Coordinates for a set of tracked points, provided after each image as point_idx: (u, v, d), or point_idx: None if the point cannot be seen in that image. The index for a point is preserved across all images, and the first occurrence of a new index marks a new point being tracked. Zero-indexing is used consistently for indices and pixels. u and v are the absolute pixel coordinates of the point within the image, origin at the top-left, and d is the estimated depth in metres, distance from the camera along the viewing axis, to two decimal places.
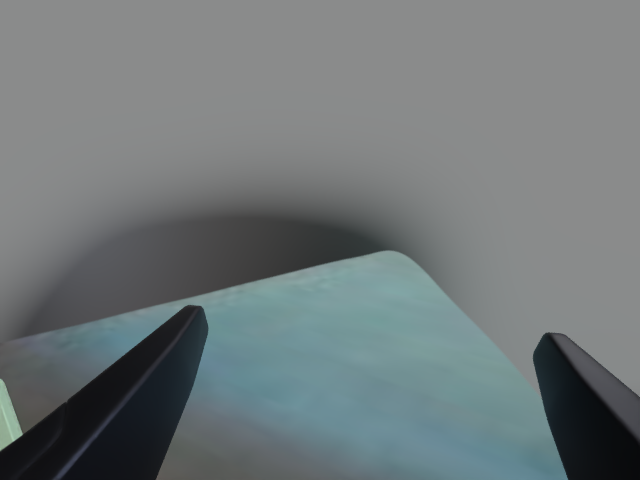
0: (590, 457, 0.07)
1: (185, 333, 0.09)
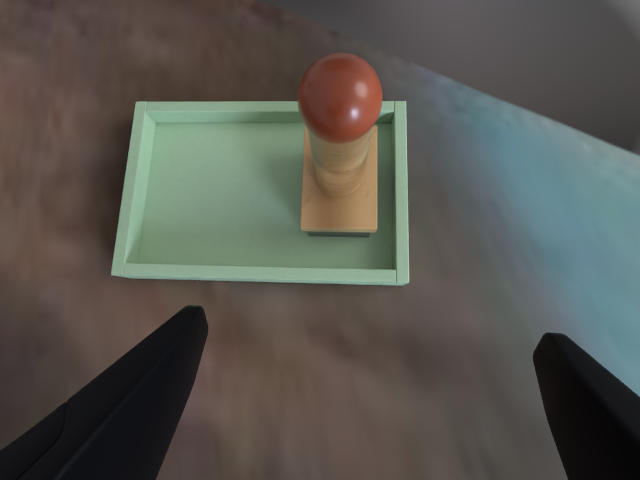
0: (590, 457, 0.07)
1: (185, 333, 0.09)
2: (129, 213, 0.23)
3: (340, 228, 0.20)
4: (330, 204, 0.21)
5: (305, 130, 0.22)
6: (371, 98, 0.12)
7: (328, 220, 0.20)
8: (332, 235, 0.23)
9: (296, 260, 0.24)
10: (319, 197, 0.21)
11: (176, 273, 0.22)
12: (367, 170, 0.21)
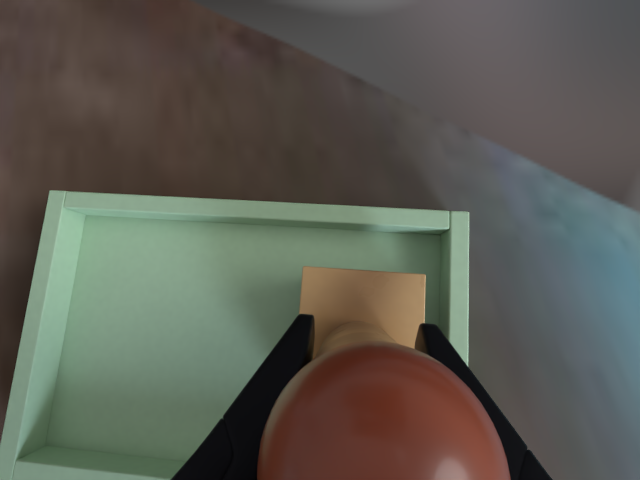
0: None
1: (309, 344, 0.08)
2: (28, 377, 0.15)
3: None
4: None
5: (303, 275, 0.13)
6: None
7: None
8: None
9: None
10: None
11: None
12: None
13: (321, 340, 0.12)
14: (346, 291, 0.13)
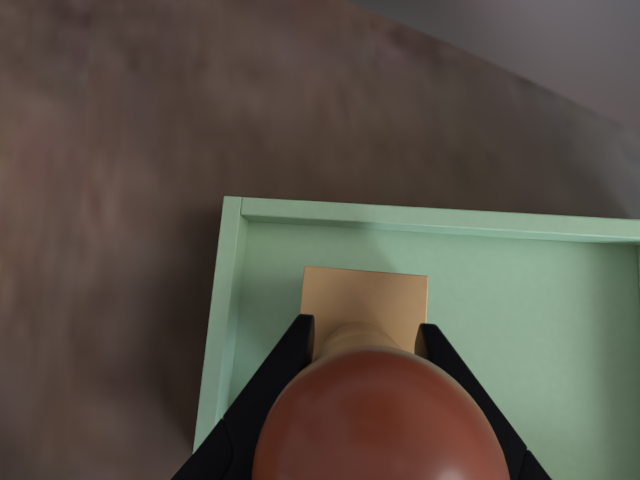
0: None
1: (309, 343, 0.08)
2: (216, 393, 0.14)
3: None
4: None
5: (305, 275, 0.13)
6: None
7: None
8: None
9: None
10: None
11: None
12: None
13: (321, 341, 0.12)
14: (347, 292, 0.13)
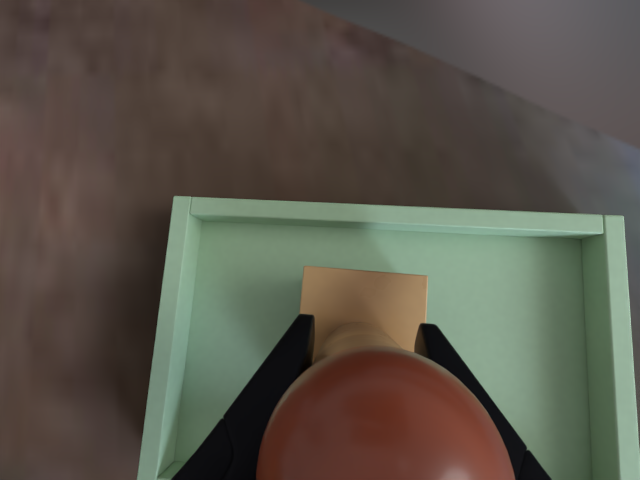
0: None
1: (309, 344, 0.08)
2: (164, 390, 0.14)
3: None
4: None
5: (304, 275, 0.13)
6: None
7: None
8: None
9: None
10: None
11: None
12: None
13: (321, 340, 0.12)
14: (347, 291, 0.13)
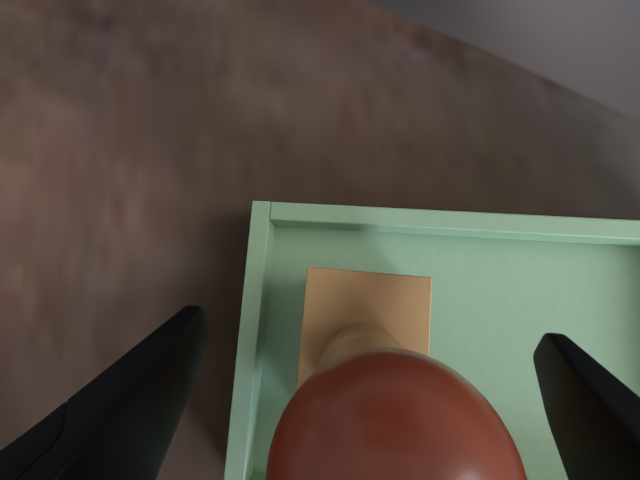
0: (590, 457, 0.07)
1: (185, 333, 0.09)
2: (248, 401, 0.14)
3: None
4: None
5: (308, 276, 0.13)
6: None
7: None
8: None
9: None
10: None
11: None
12: None
13: (325, 342, 0.12)
14: (351, 293, 0.13)
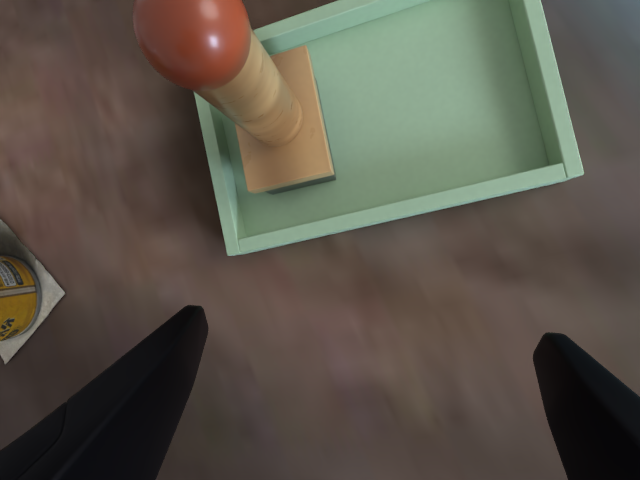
0: (590, 457, 0.07)
1: (185, 333, 0.09)
2: (224, 184, 0.20)
3: (291, 181, 0.18)
4: (273, 156, 0.18)
5: None
6: (217, 16, 0.09)
7: (275, 175, 0.18)
8: (295, 188, 0.21)
9: (424, 186, 0.20)
10: (260, 151, 0.18)
11: (297, 235, 0.20)
12: (305, 103, 0.18)
13: None
14: None
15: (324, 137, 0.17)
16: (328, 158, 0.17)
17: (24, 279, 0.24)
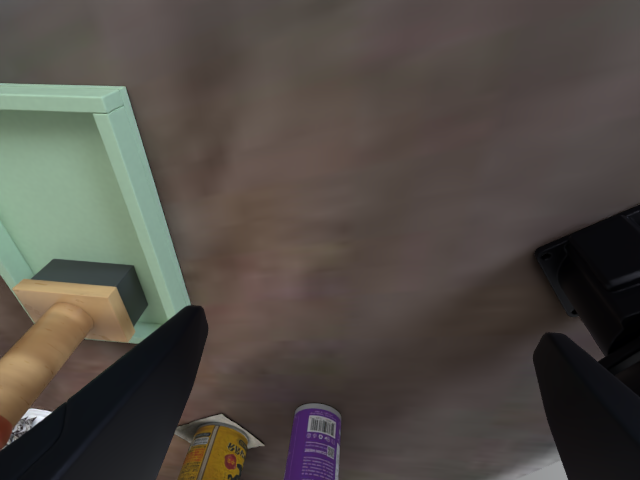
0: (590, 457, 0.07)
1: (185, 333, 0.09)
2: (135, 338, 0.28)
3: (118, 318, 0.23)
4: (100, 325, 0.24)
5: None
6: None
7: (114, 326, 0.24)
8: (140, 294, 0.26)
9: None
10: (98, 330, 0.24)
11: (171, 309, 0.25)
12: (57, 299, 0.23)
13: None
14: None
15: (82, 294, 0.22)
16: (98, 296, 0.22)
17: (208, 430, 0.37)
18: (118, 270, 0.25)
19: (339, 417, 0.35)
